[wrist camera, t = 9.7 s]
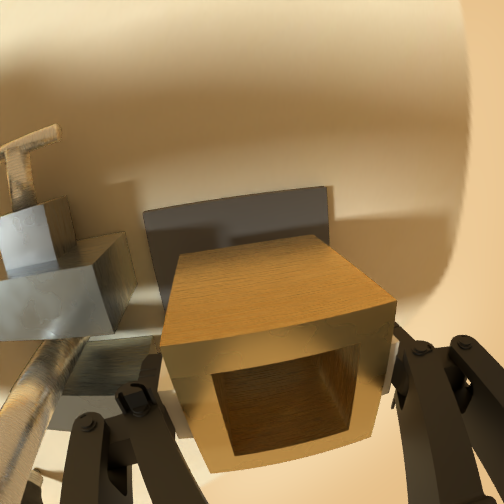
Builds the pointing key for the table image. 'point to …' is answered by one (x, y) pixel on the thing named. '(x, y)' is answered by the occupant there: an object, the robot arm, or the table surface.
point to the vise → (58, 317)
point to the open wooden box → (275, 350)
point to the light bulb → (33, 489)
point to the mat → (231, 225)
